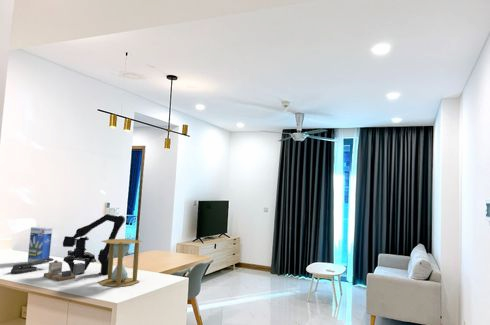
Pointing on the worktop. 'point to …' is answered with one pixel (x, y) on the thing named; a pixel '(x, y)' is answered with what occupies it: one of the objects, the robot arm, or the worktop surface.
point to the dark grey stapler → (28, 266)
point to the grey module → (78, 268)
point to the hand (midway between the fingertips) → (78, 271)
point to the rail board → (58, 272)
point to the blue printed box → (39, 243)
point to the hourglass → (120, 273)
